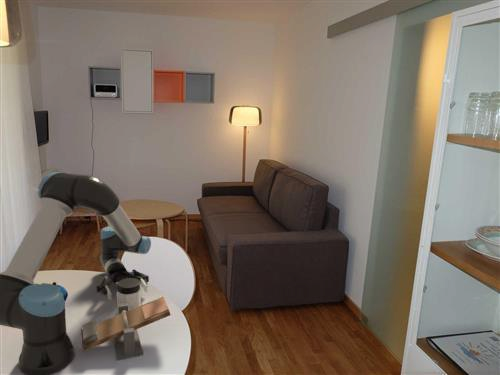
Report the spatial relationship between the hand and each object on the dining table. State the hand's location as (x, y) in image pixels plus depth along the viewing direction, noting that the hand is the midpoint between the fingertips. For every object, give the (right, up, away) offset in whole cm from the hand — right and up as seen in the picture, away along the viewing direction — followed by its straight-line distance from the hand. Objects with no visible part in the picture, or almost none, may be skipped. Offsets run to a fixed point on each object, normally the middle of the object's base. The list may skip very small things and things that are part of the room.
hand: (128, 292), depth 155 cm
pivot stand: (+5, -11, -19) cm, 22 cm away
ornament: (-28, -5, 0) cm, 28 cm away
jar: (+1, -7, -1) cm, 7 cm away
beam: (+5, -5, -20) cm, 22 cm away
